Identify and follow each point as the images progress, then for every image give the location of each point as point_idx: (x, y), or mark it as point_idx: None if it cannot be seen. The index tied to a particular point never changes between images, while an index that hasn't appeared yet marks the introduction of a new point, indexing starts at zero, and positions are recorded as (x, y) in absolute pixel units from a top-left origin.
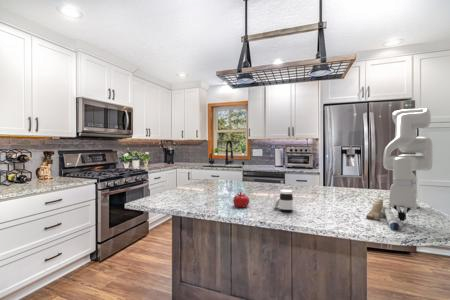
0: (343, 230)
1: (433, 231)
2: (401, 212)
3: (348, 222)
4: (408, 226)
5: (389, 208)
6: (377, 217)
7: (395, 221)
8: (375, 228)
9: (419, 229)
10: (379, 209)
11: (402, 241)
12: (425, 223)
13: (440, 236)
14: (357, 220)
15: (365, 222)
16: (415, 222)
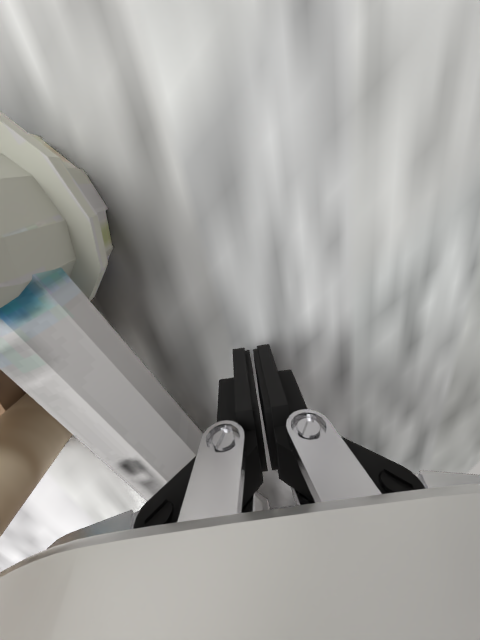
0: None
1: (456, 401)
2: (260, 445)
3: (14, 564)
4: (307, 408)
5: (7, 297)
6: (67, 440)
7: None
8: None
9: (374, 421)
10: (2, 509)
11: None
12: (442, 194)
13: (471, 462)
14: None
15: (68, 511)
16: (350, 236)
